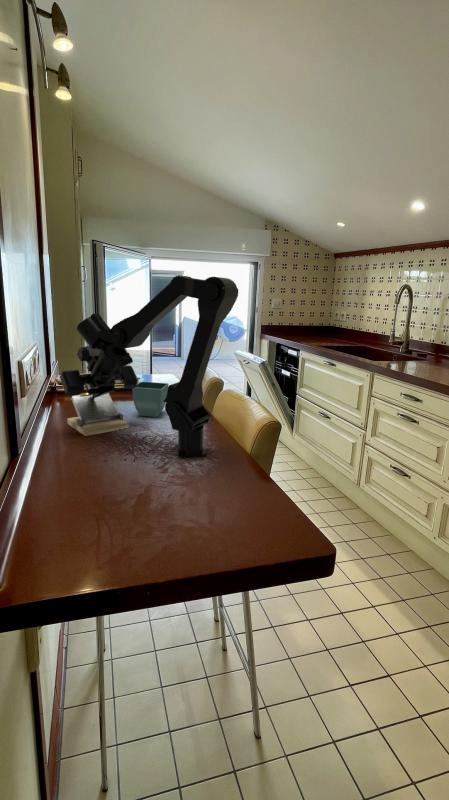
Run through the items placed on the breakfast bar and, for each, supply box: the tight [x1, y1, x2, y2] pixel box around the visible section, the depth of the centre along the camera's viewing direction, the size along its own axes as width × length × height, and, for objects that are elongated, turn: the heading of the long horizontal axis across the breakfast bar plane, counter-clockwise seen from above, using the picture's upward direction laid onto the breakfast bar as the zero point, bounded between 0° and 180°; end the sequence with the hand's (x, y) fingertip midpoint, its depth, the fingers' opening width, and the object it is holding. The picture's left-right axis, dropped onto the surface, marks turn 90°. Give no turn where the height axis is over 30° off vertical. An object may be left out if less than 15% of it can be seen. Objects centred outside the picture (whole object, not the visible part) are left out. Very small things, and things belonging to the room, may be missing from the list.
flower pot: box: [131, 381, 169, 418], centre depth 125 cm, size 9×9×9 cm
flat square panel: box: [70, 392, 119, 425], centre depth 114 cm, size 2×10×10 cm
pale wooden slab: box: [66, 412, 130, 437], centre depth 114 cm, size 12×12×3 cm
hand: (91, 397), depth 115 cm, fingers closed
